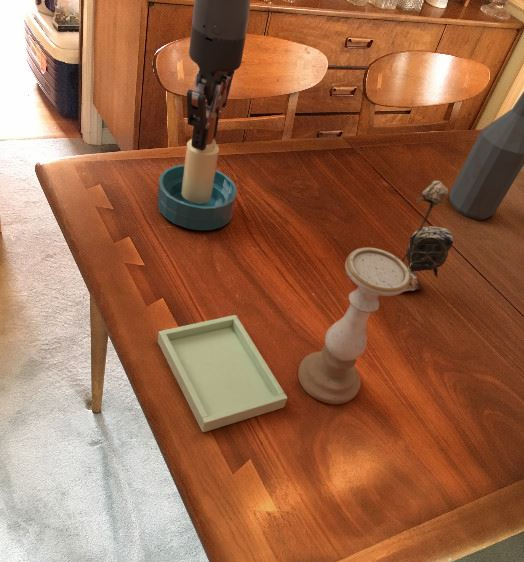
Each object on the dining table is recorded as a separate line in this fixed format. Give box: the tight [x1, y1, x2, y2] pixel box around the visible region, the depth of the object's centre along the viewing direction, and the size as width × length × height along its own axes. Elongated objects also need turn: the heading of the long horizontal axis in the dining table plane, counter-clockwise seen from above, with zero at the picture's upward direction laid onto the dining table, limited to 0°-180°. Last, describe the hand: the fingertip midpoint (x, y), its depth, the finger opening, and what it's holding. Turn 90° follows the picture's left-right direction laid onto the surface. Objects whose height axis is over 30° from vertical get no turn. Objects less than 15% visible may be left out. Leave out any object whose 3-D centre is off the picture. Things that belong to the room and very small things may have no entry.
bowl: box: [156, 163, 238, 231], centre depth 96 cm, size 13×13×5 cm
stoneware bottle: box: [181, 112, 220, 203], centre depth 90 cm, size 5×5×14 cm
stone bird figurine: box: [401, 179, 457, 292], centre depth 89 cm, size 8×11×20 cm
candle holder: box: [297, 246, 410, 405], centre depth 70 cm, size 9×9×20 cm
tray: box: [157, 314, 288, 433], centre depth 73 cm, size 16×12×2 cm
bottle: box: [448, 91, 524, 221], centre depth 108 cm, size 10×10×30 cm
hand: (203, 142), depth 89 cm, fingers closed on stoneware bottle, 4 cm apart
